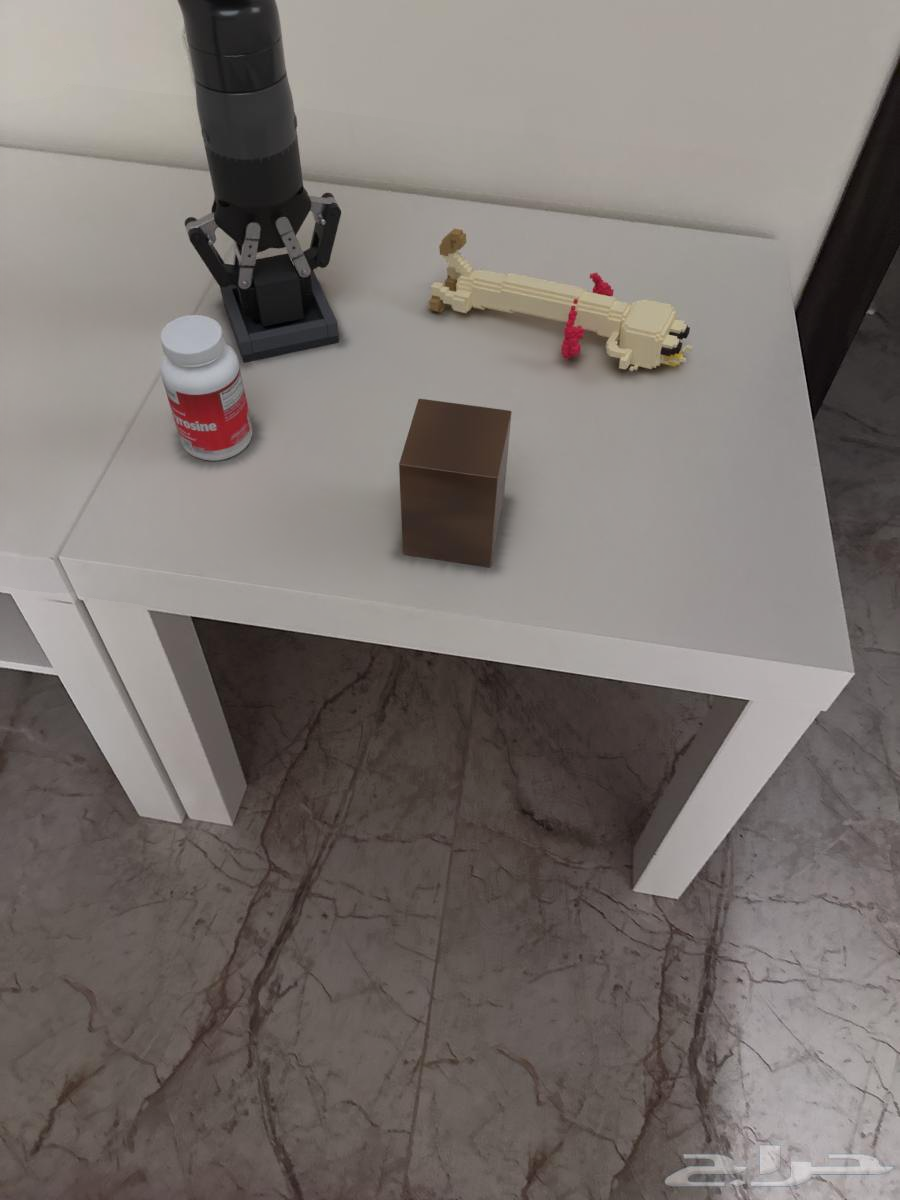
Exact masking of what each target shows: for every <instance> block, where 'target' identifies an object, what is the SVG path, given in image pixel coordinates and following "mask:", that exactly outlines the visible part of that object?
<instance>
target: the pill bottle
mask: <svg viewBox="0 0 900 1200" xmlns="http://www.w3.org/2000/svg"><path fill="white" fill-rule="evenodd" d="M160 342H161V346H162V351H163V353H164V354H163V356H162V358H161V360H160V365H159V371H160V376H161V380H162V384H163V386H164V388H165V393H166V396H167V400H168V404H169V407H170V410H171V413H172V417H173V420H174V424H175V427H176V430H177V435H178V437H179V440H180V443H181V445H182V447H183V449H184V450H185V451H186V452H187V453H188V454H190V455H191V456H193V457H195V458H197V459H200V460H205V461H209V462H211V461H212V462H213V461H214V462H217V461H223V460H227V459H229V458H232V457H235V456H237V455H238V454H240V453H241V452H242V451H244V450H245V449H246V447H247V446H248V445H249V444H250V443H251V439H252V437H253V425H252V420H251V415H250V411H249V410H250V409H249V405H248V400H247V395H246V391H245V385H244V380H243V376H242V372H241V366H240V362H239V357H238V355H237V354H236V353H237V352H236V351H235V350H234V348H232V347H231V346H230V345H229V344H228V343H226V339H225V336H224V333H223V328H222V327H221V325H220V323H219V322H218V321H217V320H215V319H214V318H212V317H209V316H206V315H202V314H188V315H183V316H180V317H177V318H174V319H172V320H171V321H169V322H168V323H167V324H165V326H164V327H163V328H162V330H161V333H160Z"/></svg>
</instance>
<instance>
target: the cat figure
mask: <svg viewBox="0 0 900 1200" xmlns="http://www.w3.org/2000/svg"><path fill="white" fill-rule="evenodd" d="M466 244H467V233H464V229H459V228H453V229H452V230H450V232H449V233H447V234H446V235H445V236H444V237H443V238H442V239H441V242H440V244H439V246H438V247H439V255H440V256H442V259H445V262H446V263H448V265H447V266H446V274H447V275H446V276H447V278H446V279H445V280H444V283H443V282H438V281H434V282H433V283H432V284H431V286H430V295H431V298H430V299H429V300H428V306H429V310H431V311H432V312H435V313H439V314H442V313H443V311H445V308H446V305H450V306H451V308H452V311H454V312H457V313H463V314H467V313H468V312H470V311H471V309H472V308H474V309H478V310H482V311H485V309H489V310H494V311H498V312H503V313H506V314H507V313H508V314H513V313H514V312H515V313H519V314H524V315H528V316H534V317H537V318H542V319H547V320H551V321H556V322H561V323H565V327H564V329H563V330H564V334H563V335H564V339H563V341H562V345H561V348H560V349H561V350H560V351H561V353H560V354H561V355H562V356H563V357H562V359H564V360H567V359H568V360H570V359H572V358H573V357H574V356H578V357H579V355H580V353H581V350H582V349H581V347H582V346H581V345H582V343H579V341H580V340H583V339H584V335H585V333H586V332H585V331H589V332H594V333H596V334H597V336H599V337H603V338H608V339H607V341H606V343H605V349H606V354H608V356H609V357H612V358H615V359H619V361H618V363H619V364H618V369H621V370H626V369H628V368H629V372H633V371H637V370H638V369H639V368H645V369H649V370H652V369H653V368H654V369H656V368H657V367H660V366H661V364H662V365H666V366H671V367H676V366H681V363H686V362H687V357H685V356H684V354H683V353H685V352H686V351H688V352H691V351H692V350H693V346H692V345H688V344H686V345H685V346H683V342H681V341H683V339H688V337H689V334H690V330H691V327H690V326H688V325H689V324H688V323H686V321H684V320H680V319H677V316H678V311H677V310H675V306H673V305H672V304H670V303H665V302H659V301H655V300H650V299H646V298H645V299H644V298H642V299H641V300H640V299H638V300H637V301H633V302H632V304H630V303H629V302H625V301H620V300H618V298H617V297H614V291H615V290H614V289H613V288H612V286H611V284H609V282H606V281H604V279H602V276H601V275H599V273H598V272H593V273H590V274H589V279H590V280H591V279H592V282H593V285H594V286H593V287H592V292H591V291H587V289H586V288H585V287H581V286H576V285H572V284H571V285H570V284H566V283H561V282H557V281H553V280H548V279H542V278H537V277H533V276H528V275H522V274H518V273H514V272H508V273H507V274H504V273H499V272H496V271H495V272H494V271H489V270H486V269H474V266H471V263H469V262H468V260H467V259H465V256H463V255H462V253H461V252H459V251H460V250H461V249H463V248H464V246H465V245H466ZM444 285H445V286H444ZM629 366H630V367H629Z"/></svg>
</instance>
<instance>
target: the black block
mask: <svg viewBox="0 0 900 1200" xmlns="http://www.w3.org/2000/svg"><path fill="white" fill-rule="evenodd" d="M252 282H253V285H254V287H255V292H256V298H257V303H258V309H259V315H260V321H261V323H262V326H263V327H265V326H270V325H275V324H279V323H284V322H289V321H294V320H299V319H304V313H303V305H302V298H301V291H300V283H299V277H298V275H297V272H296V270H295V268H294V264H293V261H292V259H291V257H290V255H289V253H288V252H287V253H281V254H276V255H271V256H267V257H261V258H256V264H255V267H254V268H253V276H252Z"/></svg>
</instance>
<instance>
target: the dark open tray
mask: <svg viewBox="0 0 900 1200" xmlns="http://www.w3.org/2000/svg"><path fill="white" fill-rule="evenodd" d="M314 270H315V269H314ZM314 270H313V271H312V273H311V283H312V291H313V301H312V303H310V304H308V310H304V311H303V313H304V319H299V320H294V321H289V322H284V323H279V324H275V325H270V326H265V327H263V326H262V323H261V321H260V320H256V321H253V319H252V316H246V315H245V313H244V311H243V308H242V306H241V303H240V297H239V292H238V287H237V286H235V285H229V286H227V287H221V286H219V289H220V294H221V299H222V304H223V306H224V307H223V308H224V309H225V313H226V315H227V318H228V321H229V324H230V327H231V329H232V332H233V336H234V339H235V342H236V344H237V347H238V350H239V352H240V355H241V358H242V362H243V363H248V362H252V361H257V360H261V359H267V358H271V357H277V356H281V355H285V354H290V353H295V352H300V351H305V350H309V349H314V348H318V347H323V346H327V345H328V346H329V345H332V344H333V345H334V344H337V343H340V337H339V336H340V335H339V326H338V321H337V319H336V316H335V315H334V312H333V310H332V308H331V306H330V304H329V301H328V299H327V296H326V294H325V292H324V290H323V288H322V286H321V283H320V281H319V279H318V277H317V275H316V273H315V271H314Z"/></svg>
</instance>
